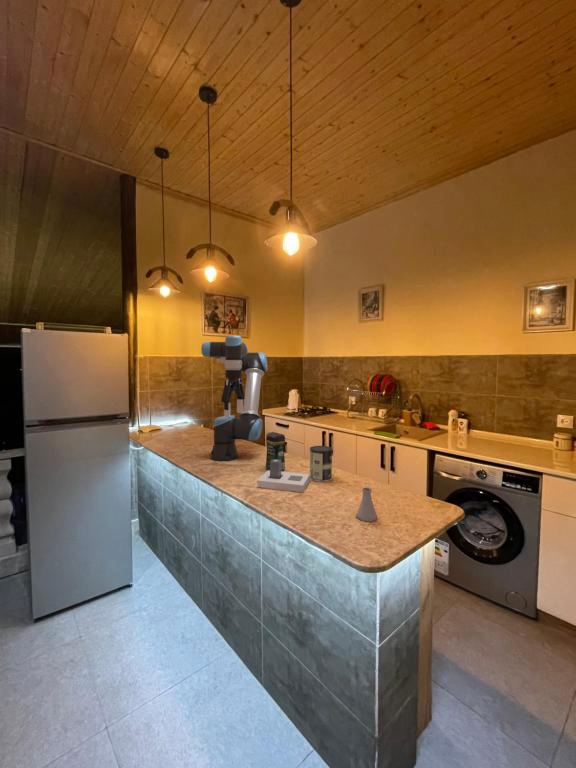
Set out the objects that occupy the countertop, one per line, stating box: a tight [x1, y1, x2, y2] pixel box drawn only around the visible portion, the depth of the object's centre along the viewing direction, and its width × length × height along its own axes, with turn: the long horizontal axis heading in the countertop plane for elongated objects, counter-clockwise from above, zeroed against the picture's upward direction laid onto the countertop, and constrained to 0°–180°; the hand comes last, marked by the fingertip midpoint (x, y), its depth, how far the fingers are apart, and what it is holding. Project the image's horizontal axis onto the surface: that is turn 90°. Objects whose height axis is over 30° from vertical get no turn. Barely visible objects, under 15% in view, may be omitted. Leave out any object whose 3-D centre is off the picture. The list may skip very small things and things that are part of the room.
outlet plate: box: [256, 469, 311, 493], centre depth 144 cm, size 14×20×3 cm
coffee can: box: [309, 445, 333, 483], centre depth 151 cm, size 10×10×14 cm
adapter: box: [270, 459, 282, 479], centre depth 145 cm, size 4×4×10 cm
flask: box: [355, 486, 378, 523], centre depth 113 cm, size 7×7×10 cm
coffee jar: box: [265, 431, 286, 472], centre depth 163 cm, size 10×8×19 cm
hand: (233, 415), depth 153 cm, fingers open, 13 cm apart
